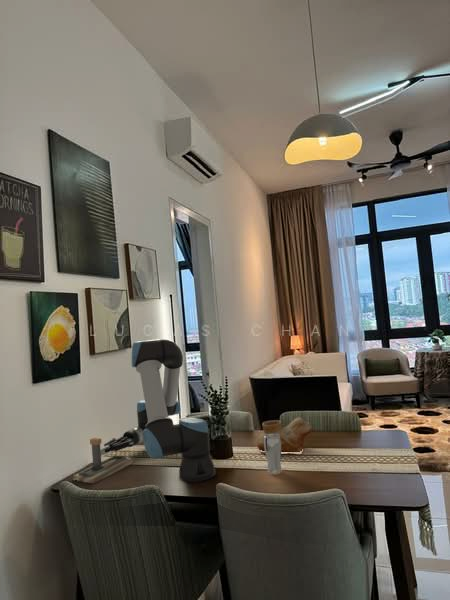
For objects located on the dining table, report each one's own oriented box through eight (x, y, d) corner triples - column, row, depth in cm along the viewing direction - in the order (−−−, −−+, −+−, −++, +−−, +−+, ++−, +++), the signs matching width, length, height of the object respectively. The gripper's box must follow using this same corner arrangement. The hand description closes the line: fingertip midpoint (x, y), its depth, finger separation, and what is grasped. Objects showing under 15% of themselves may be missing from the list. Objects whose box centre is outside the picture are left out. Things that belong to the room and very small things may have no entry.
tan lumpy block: (314, 455, 190) (311, 421, 190) (256, 456, 194) (253, 423, 194) (313, 445, 203) (310, 414, 204) (259, 446, 208) (256, 415, 208)
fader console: (131, 463, 197) (131, 456, 197) (93, 483, 176) (93, 475, 176) (112, 460, 203) (112, 454, 203) (73, 480, 182) (72, 472, 182)
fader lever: (103, 468, 186) (101, 438, 187) (99, 470, 184) (97, 440, 184) (95, 467, 188) (93, 437, 189) (91, 469, 186) (89, 439, 187)
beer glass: (282, 475, 169) (279, 438, 170) (265, 475, 171) (262, 438, 171) (283, 469, 176) (281, 433, 176) (267, 469, 177) (264, 433, 178)
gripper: (144, 445, 205) (109, 463, 185) (123, 443, 211) (88, 460, 191) (143, 430, 206) (108, 445, 185) (122, 428, 212) (87, 443, 191)
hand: (98, 453), depth 188 cm, fingers closed
